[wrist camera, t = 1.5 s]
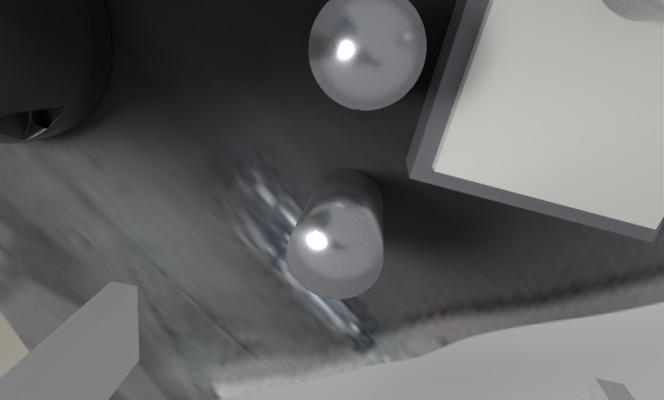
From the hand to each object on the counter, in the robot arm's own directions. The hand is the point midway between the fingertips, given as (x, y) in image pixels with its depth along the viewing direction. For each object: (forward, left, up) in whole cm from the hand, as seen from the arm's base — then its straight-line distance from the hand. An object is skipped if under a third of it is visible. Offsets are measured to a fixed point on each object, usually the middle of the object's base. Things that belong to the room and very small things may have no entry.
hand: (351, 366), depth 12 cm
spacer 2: (-1, -2, -17) cm, 17 cm away
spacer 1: (-2, +8, -17) cm, 19 cm away
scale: (+9, +11, -17) cm, 22 cm away
